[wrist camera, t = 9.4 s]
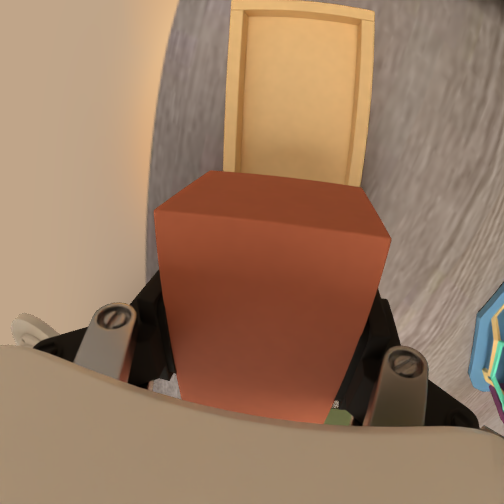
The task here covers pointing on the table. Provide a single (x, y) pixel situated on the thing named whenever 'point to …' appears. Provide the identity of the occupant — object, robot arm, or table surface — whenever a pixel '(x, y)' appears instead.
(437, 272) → the table surface
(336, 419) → the sage pad
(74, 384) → the robot arm
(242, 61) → the channel
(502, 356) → the stadium
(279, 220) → the terracotta block
